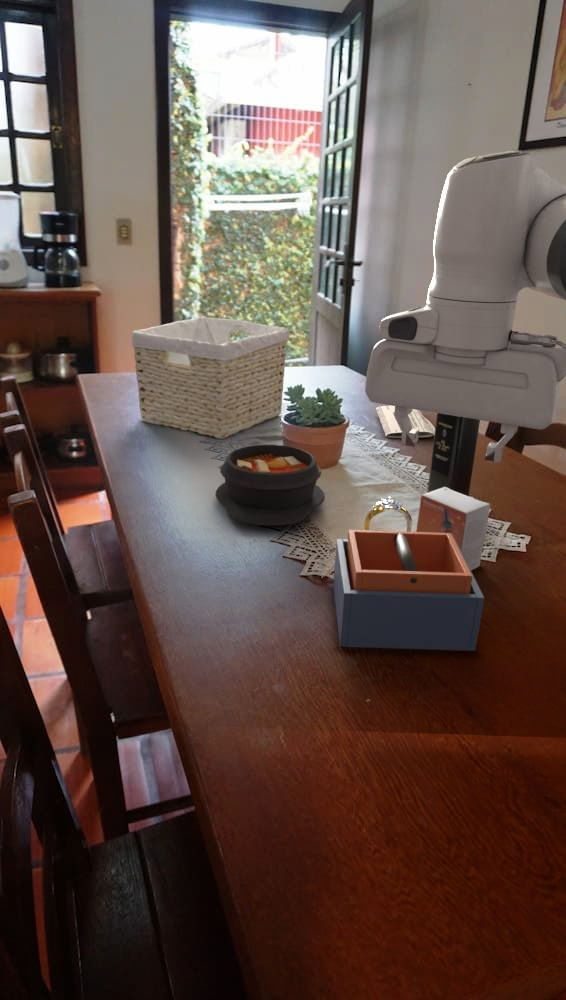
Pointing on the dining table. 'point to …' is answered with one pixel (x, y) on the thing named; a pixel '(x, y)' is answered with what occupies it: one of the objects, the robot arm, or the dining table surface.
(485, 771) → the dining table surface
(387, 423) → the newspaper
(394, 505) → the ring
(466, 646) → the lower bin
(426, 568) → the orange bin
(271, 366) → the basket
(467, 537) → the small box
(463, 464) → the wine bottle
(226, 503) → the casserole
